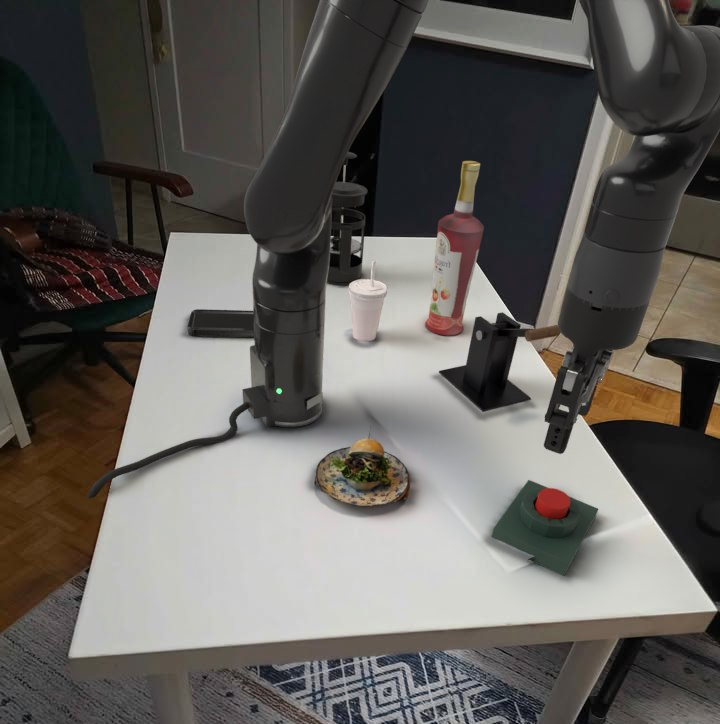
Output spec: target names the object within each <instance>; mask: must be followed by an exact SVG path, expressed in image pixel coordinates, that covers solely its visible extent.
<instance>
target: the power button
mask: <svg viewBox="0 0 720 724" xmlns="http://www.w3.org/2000/svg"><path fill="white" fill-rule="evenodd" d="M569 497H570V495H568V494H567V493H566V492H564V491H563V490H561V489H558V488H553V487H547V488H546V489H543V490H541V491H540V492H539V495H538V498H537V501H536V504H535V508H536V511H537V512H538V513H539V514H540V515H542V516H544V517H547V518H549V519H557V520H560V519H562V518H564V517H565V516H566V514H567V511H568V508H569V506H570V498H569Z"/></svg>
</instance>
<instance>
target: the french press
mask: <svg viewBox="0 0 720 724" xmlns="http://www.w3.org/2000/svg"><path fill="white" fill-rule="evenodd" d="M357 157H358V155H357V154H356V153H354V152H351V151H348V153H347V155H346V157H345V160H344V162H343V164H342V166H343V174H342V178H343V179H342V181H336V183H335V186H334V189H333V191H332V216H333V221H332V224H331V230H333V233H332V234H333V236H331V242H330V260H329V271H328V277H327V284H328V285H335V286H349V284H350V283H351V282H353V281H355V280H360V279H363V273H362V272H363V257H364V243H365V231H366V215H365V214H364V213H363V212H361V211H359V210H356V209H353V208H356V207H357V208H358V207H360V206H362V205H364V204H365V200H366V199H365V197H366V195H368V189H367V188H366V187H365V186H364V185H361V184H358V183H354V182H347V181H346V172H347V171H346V170H347V169H346V168H347V166H348V163H349V162H348V161H349V160H352V159H356V158H357ZM350 208H351V209H350ZM344 216H347V217H352V218H354V219H358V220H360V221H355V222H344ZM360 229H361V237H360V241H358V240H356V239H354V238H353V231H356V230H360ZM357 253H359V256H358V255H357Z"/></svg>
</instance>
